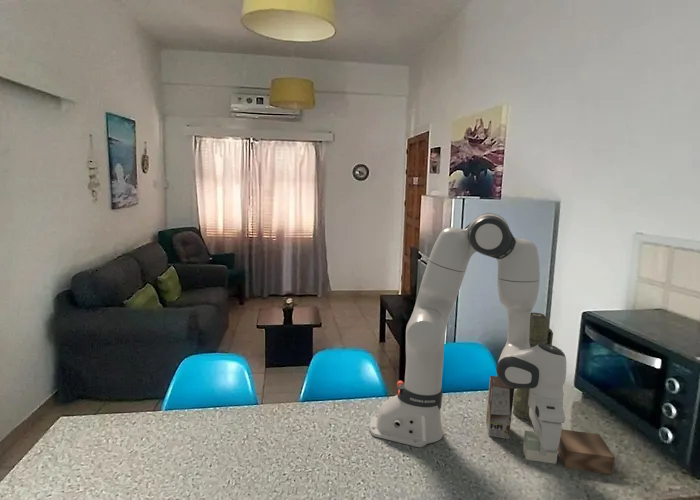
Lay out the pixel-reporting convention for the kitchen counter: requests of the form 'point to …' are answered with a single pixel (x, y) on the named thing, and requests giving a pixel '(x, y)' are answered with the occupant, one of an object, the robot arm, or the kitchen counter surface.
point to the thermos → (536, 337)
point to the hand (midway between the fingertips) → (540, 447)
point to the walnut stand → (585, 452)
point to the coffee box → (499, 408)
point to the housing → (536, 449)
